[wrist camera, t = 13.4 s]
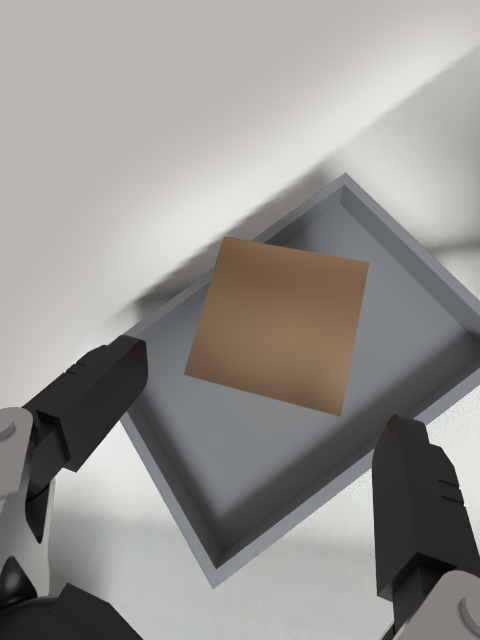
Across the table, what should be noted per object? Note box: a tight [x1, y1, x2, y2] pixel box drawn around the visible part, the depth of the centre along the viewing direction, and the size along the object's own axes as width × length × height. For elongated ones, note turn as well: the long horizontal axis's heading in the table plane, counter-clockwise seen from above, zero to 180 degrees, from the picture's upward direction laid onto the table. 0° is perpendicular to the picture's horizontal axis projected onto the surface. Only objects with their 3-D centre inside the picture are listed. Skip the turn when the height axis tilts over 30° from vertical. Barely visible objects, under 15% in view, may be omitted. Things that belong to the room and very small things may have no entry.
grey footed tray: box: [107, 173, 480, 589], centre depth 21 cm, size 20×14×7 cm
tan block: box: [183, 237, 370, 417], centre depth 15 cm, size 5×5×10 cm
